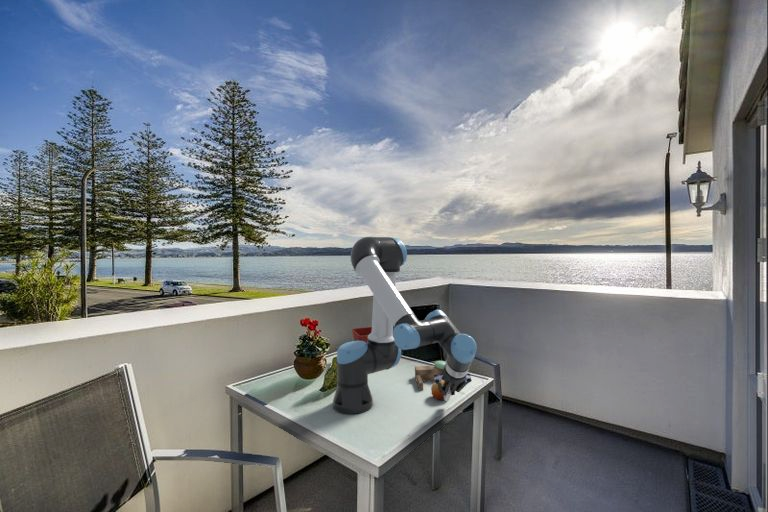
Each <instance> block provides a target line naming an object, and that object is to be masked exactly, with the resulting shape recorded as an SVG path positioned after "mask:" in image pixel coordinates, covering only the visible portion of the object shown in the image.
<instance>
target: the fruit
mask: <svg viewBox="0 0 768 512" xmlns="http://www.w3.org/2000/svg"><path fill="white" fill-rule="evenodd" d="M444 382H445V381H444V380H442V381H441V384H442V386H443V384H444ZM430 389H431V396H432V397H433V398H435V399H436V400H437V401H445V400H444V396H443V394H442V393H440V392H439V389H438V385H437V384H436V383H435V382H433V383H432V386H431V388H430Z"/></svg>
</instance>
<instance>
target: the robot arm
mask: <svg viewBox="0 0 768 512" xmlns="http://www.w3.org/2000/svg"><path fill="white" fill-rule="evenodd" d="M407 256H408V252H407V248H406V245H405V244H404V243H403V241H402V240H401V239H400V238H397V237H393V236H365V237H362V238H360V239H358V240H357V241H356V242H355V243H354V245H353V246H352V248H351V251H350V263H351V266H352V268H353V270H354V271H355V273H356V274H357V275H358V276H360V277H362V279H363V280H364V282H365V284H366V285H367V287H368V288H369V289H370V291H371V292H372V295H373V297H372V299H373V300H372V314H371V315H372V317H371V318H372V319H371V327H372V332H371V333H370V334H369V335H368V340H367V343H366V342H364V341H354V340H352V341H348V342H345V343H343V344H341V345H339V347H338V349H337V353H336V371H337V372H336V378H337V379H336V381H337V385H336V390H335V393H334V395H333V400H332V407H333V409H334V411H336V412H338V413H341V414H346V415H356V414H360V413H364V412H368V411H369V410H370V409H371V408H372V407H373V406H374V405H373V403H374V402H373V396H372V395H373V394H372V393H371V389H370V386H369V379H368V378H369V377H368V375H370V374H371V375H372V374H374V373H378V372H382V371H387V370H391V368H394V367H397V365H398V364H399V362H400V361H401V357H402V351H406V350H413V349H417V348H419V347H424V346H428V345H432V344H436V343H438V344H439V346H440V347H441V348H442V350H443V351H444V352H445V353H446V355H447V357H446V360H445V362H446V363H445V367H444V370H443V373H441V376H438V375H434V379H435V380H434V383H436V384H437V385H438V389H439V392H440V393H442V394H443V396H444V400H443V401H444V402H448V401H450V398H451V397H452V396H455V395H456V393H460V392H461V391H462V390H463V389H464V388H466V386H467V385H468V384H469V383H471V382H472V376H471V374H470V373H468V372H469V370H470V368H471V365H472V363H473V361H474V359H475V357H476V354H477V353H476V352H477V349H478V348H477V347H478V345H477V342H476V341H475V339H474V338H473V337H472V336H470V335H468V334H467V333H461V331H460V330H459V329H458V327H456V325H455V324H454V322H453V321H452V320H451V319H450V317H449V316H448V315H447V314H446V313H445V312H444V311H442V310H441V309H435V310H433V311H431V312H429V313H428V314H427V315H426V317H425V318H424V319H423V320H419V318H417V315H416V314H415V313H414V311H413V310H412V309H411V307H410V306H409V305H408V302H407V301H406V300H405V299H404V298H403V296H402V294H401V293H400V292H399V290H398V289H397V287H396V281H397V280H396V277H397V275H398V274H400V271H401V270H400V269H401V266H403V265H405V263H406V262H407V258H408V257H407ZM442 380H444V381H445V382H444V384H443V386H442V384H441V381H442ZM450 396H451V397H450Z"/></svg>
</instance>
